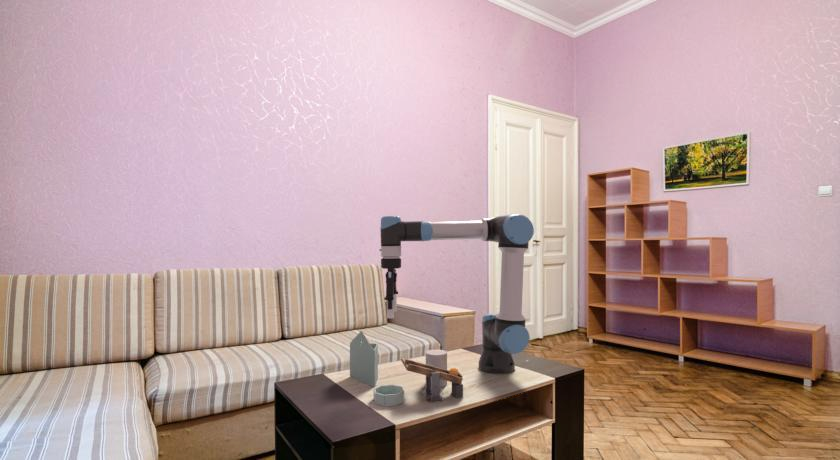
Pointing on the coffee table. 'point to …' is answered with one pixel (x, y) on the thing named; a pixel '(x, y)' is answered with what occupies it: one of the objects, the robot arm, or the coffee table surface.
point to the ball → (454, 372)
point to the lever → (430, 370)
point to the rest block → (457, 390)
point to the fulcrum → (433, 387)
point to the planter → (364, 360)
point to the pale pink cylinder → (437, 361)
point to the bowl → (388, 395)
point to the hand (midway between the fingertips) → (391, 314)
